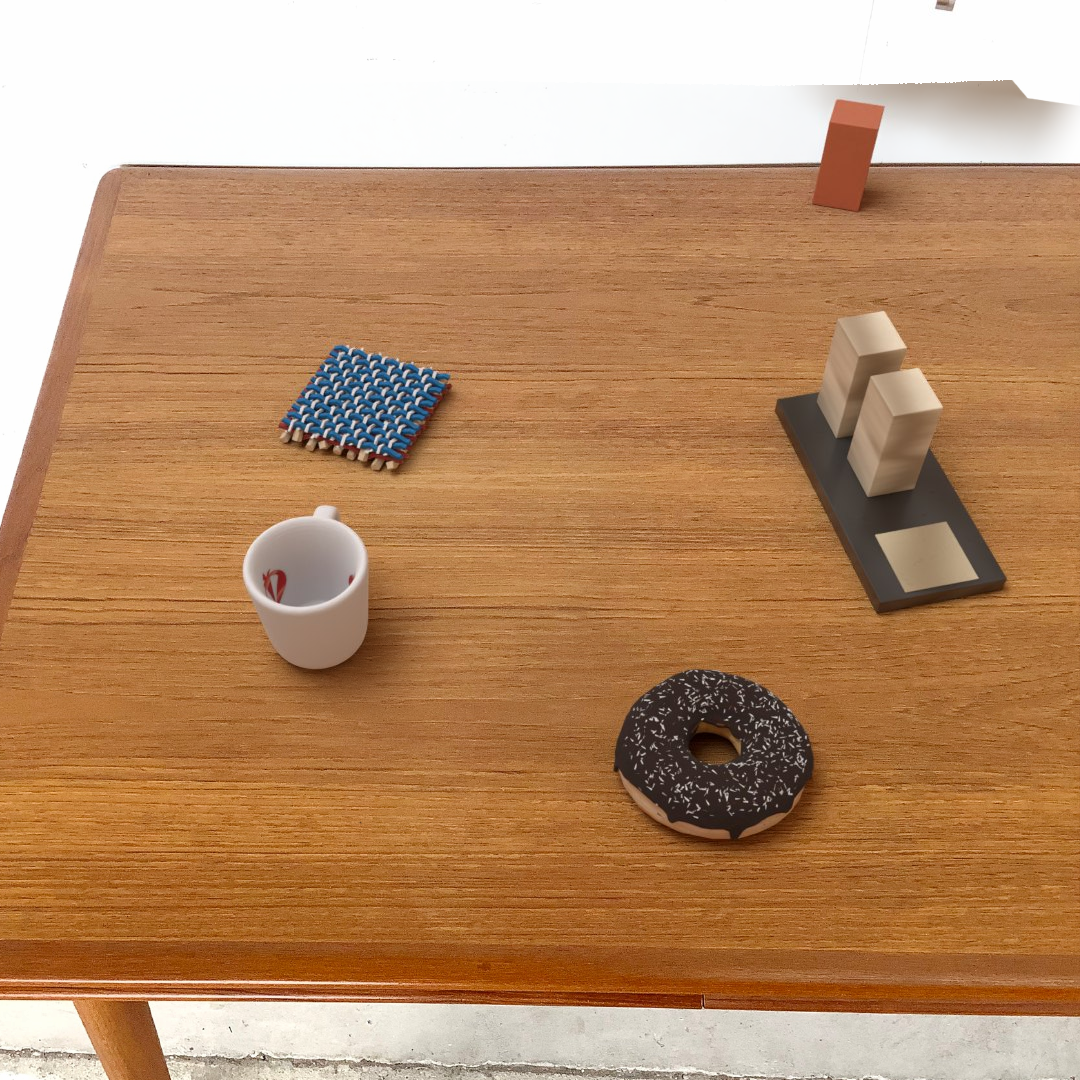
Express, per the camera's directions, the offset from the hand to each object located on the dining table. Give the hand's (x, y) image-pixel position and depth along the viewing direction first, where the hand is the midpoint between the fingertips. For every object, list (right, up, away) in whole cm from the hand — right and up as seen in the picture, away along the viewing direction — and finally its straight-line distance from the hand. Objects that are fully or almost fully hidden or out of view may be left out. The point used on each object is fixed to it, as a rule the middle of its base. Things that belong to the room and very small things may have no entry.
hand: (886, 0), depth 110 cm
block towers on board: (-6, -44, -16) cm, 47 cm away
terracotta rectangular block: (-3, -15, +5) cm, 16 cm away
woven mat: (-44, -37, -9) cm, 58 cm away
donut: (-21, -62, -29) cm, 72 cm away
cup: (-46, -53, -21) cm, 73 cm away
